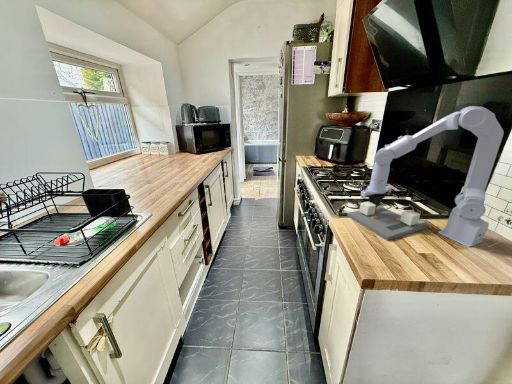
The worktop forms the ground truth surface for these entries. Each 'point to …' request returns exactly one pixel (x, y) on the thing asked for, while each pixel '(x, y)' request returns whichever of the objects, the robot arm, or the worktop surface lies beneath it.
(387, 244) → the worktop surface
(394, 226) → the switch unit
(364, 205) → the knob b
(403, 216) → the white cube
